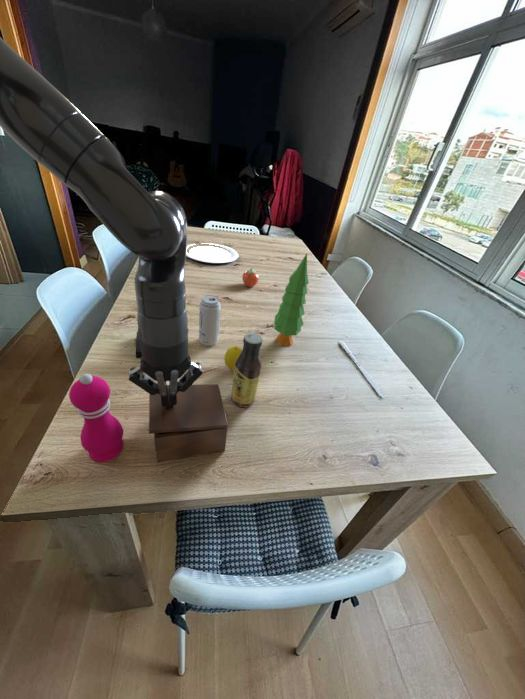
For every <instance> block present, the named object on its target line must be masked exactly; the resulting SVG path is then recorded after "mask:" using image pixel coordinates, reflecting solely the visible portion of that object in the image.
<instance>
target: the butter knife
mask: <svg viewBox="0 0 525 699" xmlns="http://www.w3.org/2000/svg"><path fill="white" fill-rule="evenodd" d="M338 342H339V345H340V346H341V348H342V349H343V350H344V351H345V353H346V354H347V355H348V356H349V357H350V358H351V360H352V361H353V362H354V363H355V365H356V366H357V368H359V370H360V371H361V373H362V374H363V376H364V377H365V379H366V380H367V381H368V382H369V384H370V385H371V386H372V388H373V389H374V390H375V392H376V393H377V395H379V397H384V395H383V392H382V390H381V388H380V386H379V384H378V383H377V381H376V380H375V379H374V377H372V375H371V374H370V373H369V372H368V371H367V370H366V369H365V368H364V367H363V366H362V365H361V363H360V362H359V361H358V360H357V359H356V357H355V356H354V355H353V353H352V351H351V349H349V348H350V347H348V346H347V344H346V343H345V341H343V340H338Z"/></svg>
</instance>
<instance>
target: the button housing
mask: <svg viewBox="0 0 525 699" xmlns="http://www.w3.org/2000/svg"><path fill="white" fill-rule="evenodd" d="M134 350H135V351H134V354H135V358H136V359H142V353H141V346H140V338H139V334H138V331H136V338H135V349H134Z"/></svg>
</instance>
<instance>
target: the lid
mask: <svg viewBox="0 0 525 699" xmlns="http://www.w3.org/2000/svg"><path fill="white" fill-rule="evenodd" d="M167 388H169V384H167ZM168 393H169V389H168ZM148 394H149V393H148ZM221 394H222V393H221V391H220V387H219V383H211V384H208V383H206V384H203V383H202V384H192V385H191V386H190V387H189V388H188V389H187V390H186V391H185V392H181V391H179V392H178V393H177V404H176V405H173V408H170V404H169V408H167V409H166V406H162V404H161V395H160V394H155V395H150V394H149V399H148V401H149V402H148V403H149V404H148V407H149V408H148V416H149V417H148V434H149V435H150V434H154V433H163V432H177V431H191V430H204V429H218V428H227V429H228V426H229V424H228V419H227V415H226V411H225V407H224V402H223V399H222V395H221Z"/></svg>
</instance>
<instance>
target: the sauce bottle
mask: <svg viewBox="0 0 525 699" xmlns="http://www.w3.org/2000/svg"><path fill="white" fill-rule="evenodd" d="M242 342H243V346H242V352H241V354H240V356H239V357H238V359H237V361H236V362H235V368H234V370H233V376H232V384H231V390H230V398H231V402H232V403H233V404H234V405H235V406H237V407H240V408H247V407H250V406H251V405H252V404H254V402H255V399H256V397H257V396H256V395H257V391H258V386H259V381H260V376H261V373H262V372H261V370H262V364H263V361H262V357H261V355H260V350H261V347H262V345H263V337H262V335H260V334H258V333H255V332H249V333H248V332H247V333H246V334H245V335H244V336H243V341H242Z"/></svg>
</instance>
